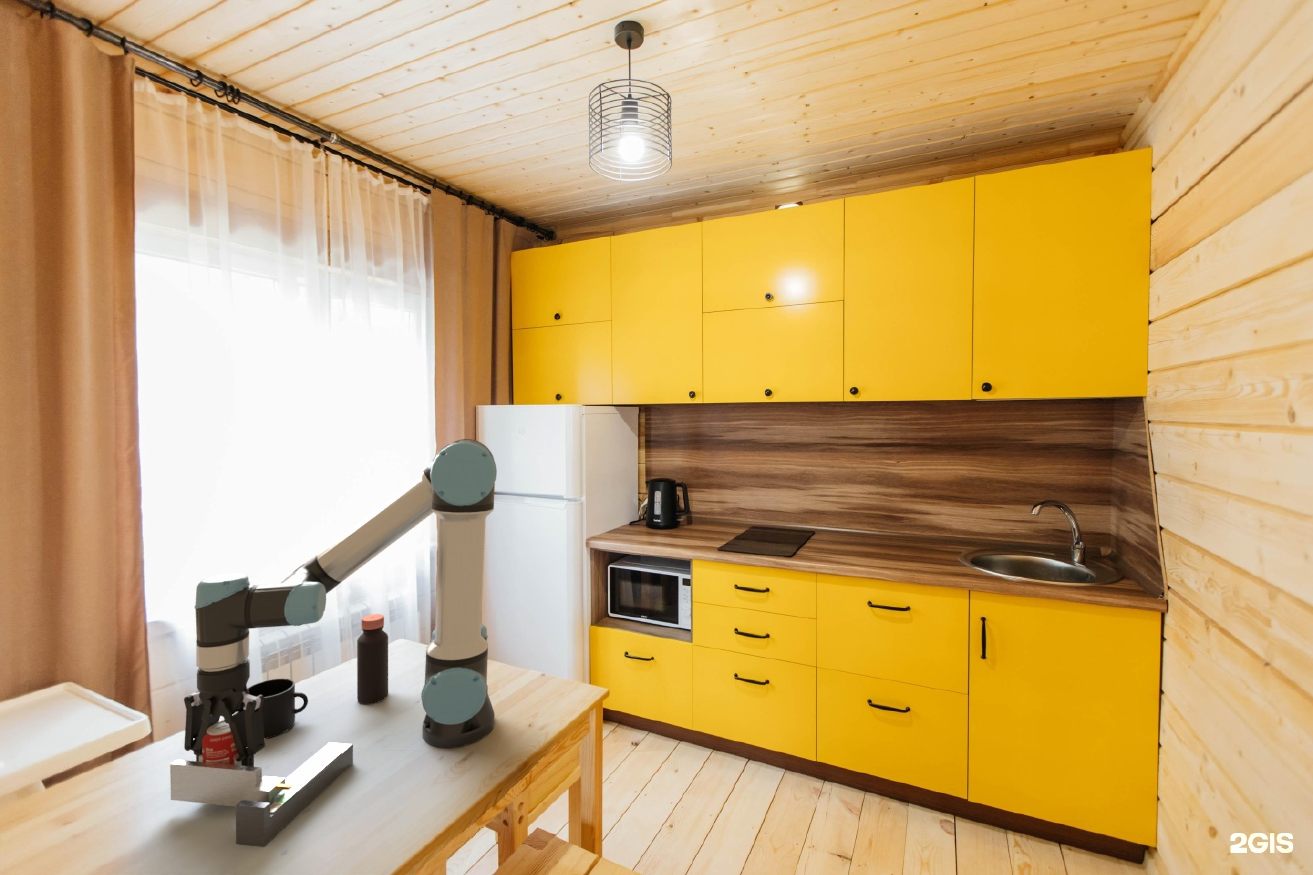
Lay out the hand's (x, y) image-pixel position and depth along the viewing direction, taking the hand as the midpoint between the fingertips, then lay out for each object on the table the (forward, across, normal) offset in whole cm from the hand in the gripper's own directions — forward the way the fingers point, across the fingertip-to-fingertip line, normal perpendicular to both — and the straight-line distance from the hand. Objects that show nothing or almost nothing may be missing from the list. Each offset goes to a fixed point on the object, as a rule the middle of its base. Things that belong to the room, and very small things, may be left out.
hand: (225, 788), depth 102 cm
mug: (+2, +9, -23) cm, 24 cm away
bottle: (+2, -4, -38) cm, 38 cm away
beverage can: (+1, 0, 0) cm, 1 cm away
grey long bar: (+2, -13, -2) cm, 14 cm away
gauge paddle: (0, -5, +4) cm, 6 cm away
